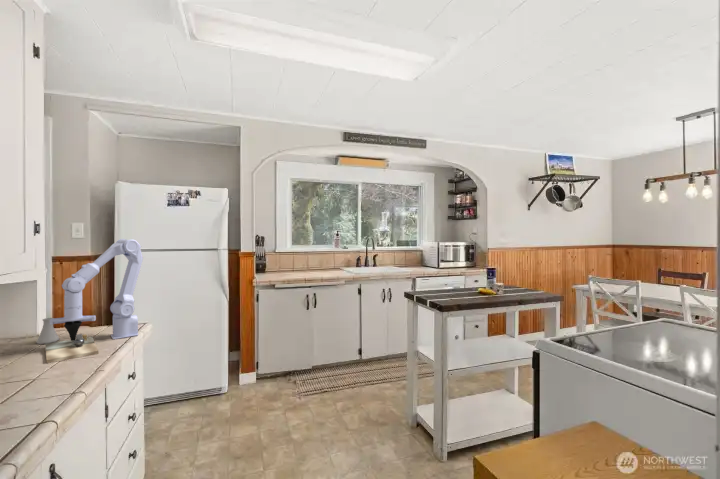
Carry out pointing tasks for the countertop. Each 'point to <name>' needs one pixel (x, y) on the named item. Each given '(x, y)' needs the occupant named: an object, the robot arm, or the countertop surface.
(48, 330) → the flask
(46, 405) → the countertop surface
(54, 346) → the lock board
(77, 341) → the latch bar
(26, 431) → the countertop surface
